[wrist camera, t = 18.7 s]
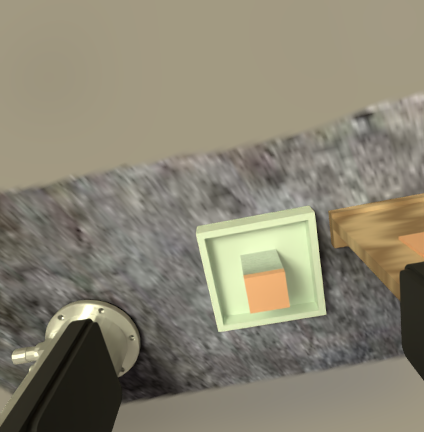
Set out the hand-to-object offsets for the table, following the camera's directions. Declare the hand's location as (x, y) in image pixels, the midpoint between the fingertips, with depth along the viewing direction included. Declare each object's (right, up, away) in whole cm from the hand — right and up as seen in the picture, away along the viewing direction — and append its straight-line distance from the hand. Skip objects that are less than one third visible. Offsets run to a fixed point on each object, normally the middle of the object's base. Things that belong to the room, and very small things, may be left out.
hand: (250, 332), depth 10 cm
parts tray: (+5, -3, +33) cm, 33 cm away
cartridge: (+5, -3, +32) cm, 33 cm away
